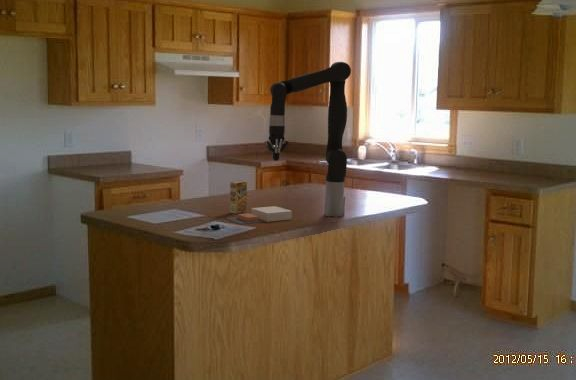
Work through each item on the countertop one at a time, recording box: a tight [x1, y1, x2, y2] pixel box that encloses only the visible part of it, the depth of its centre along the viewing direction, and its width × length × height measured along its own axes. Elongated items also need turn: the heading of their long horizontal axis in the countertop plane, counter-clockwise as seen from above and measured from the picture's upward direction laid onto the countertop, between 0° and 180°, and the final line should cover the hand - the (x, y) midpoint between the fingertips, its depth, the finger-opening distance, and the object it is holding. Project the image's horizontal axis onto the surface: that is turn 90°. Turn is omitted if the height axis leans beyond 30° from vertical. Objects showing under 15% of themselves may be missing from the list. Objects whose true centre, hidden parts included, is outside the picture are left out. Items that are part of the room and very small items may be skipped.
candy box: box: [229, 180, 248, 215], centre depth 338 cm, size 9×4×15 cm, turn 146°
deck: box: [250, 205, 293, 223], centre depth 328 cm, size 14×14×4 cm
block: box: [236, 212, 258, 222], centre depth 320 cm, size 6×9×2 cm, turn 36°
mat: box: [224, 216, 266, 225], centre depth 320 cm, size 14×14×1 cm
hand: (275, 160), depth 331 cm, fingers closed
